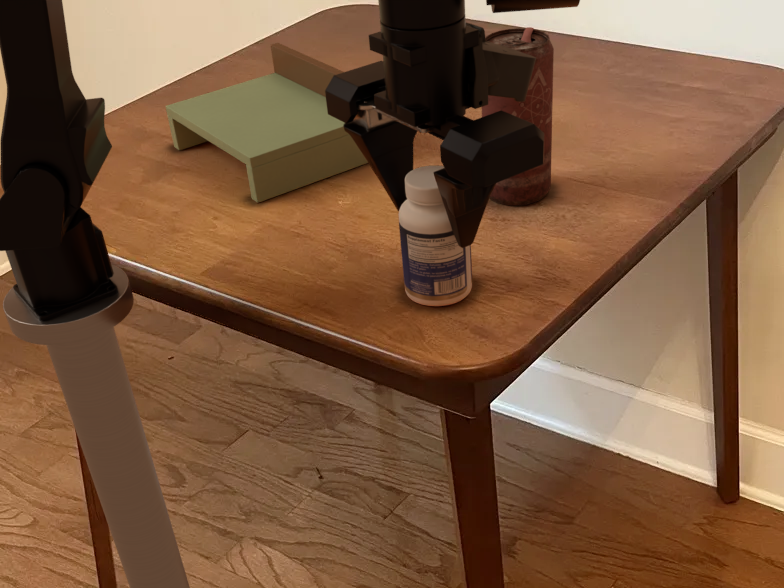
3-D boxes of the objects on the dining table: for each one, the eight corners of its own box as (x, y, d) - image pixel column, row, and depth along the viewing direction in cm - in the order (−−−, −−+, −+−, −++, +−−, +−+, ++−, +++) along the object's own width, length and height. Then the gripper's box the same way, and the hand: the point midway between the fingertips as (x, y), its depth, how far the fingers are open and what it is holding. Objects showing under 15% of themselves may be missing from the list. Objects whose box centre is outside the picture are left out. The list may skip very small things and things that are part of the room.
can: (557, 179, 96) (561, 25, 87) (542, 209, 91) (544, 51, 82) (494, 174, 97) (491, 23, 89) (476, 204, 93) (471, 48, 84)
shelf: (257, 203, 96) (244, 126, 91) (174, 147, 108) (158, 76, 103) (379, 158, 102) (373, 84, 97) (288, 110, 114) (278, 42, 109)
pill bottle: (418, 269, 84) (411, 157, 78) (481, 277, 82) (478, 164, 76) (394, 303, 80) (384, 188, 74) (459, 312, 79) (453, 195, 73)
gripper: (610, 17, 66) (598, 235, 75) (434, -34, 78) (443, 159, 88) (474, 62, 61) (480, 289, 70) (310, 0, 73) (334, 200, 83)
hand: (434, 227), depth 78 cm, fingers open, 7 cm apart
